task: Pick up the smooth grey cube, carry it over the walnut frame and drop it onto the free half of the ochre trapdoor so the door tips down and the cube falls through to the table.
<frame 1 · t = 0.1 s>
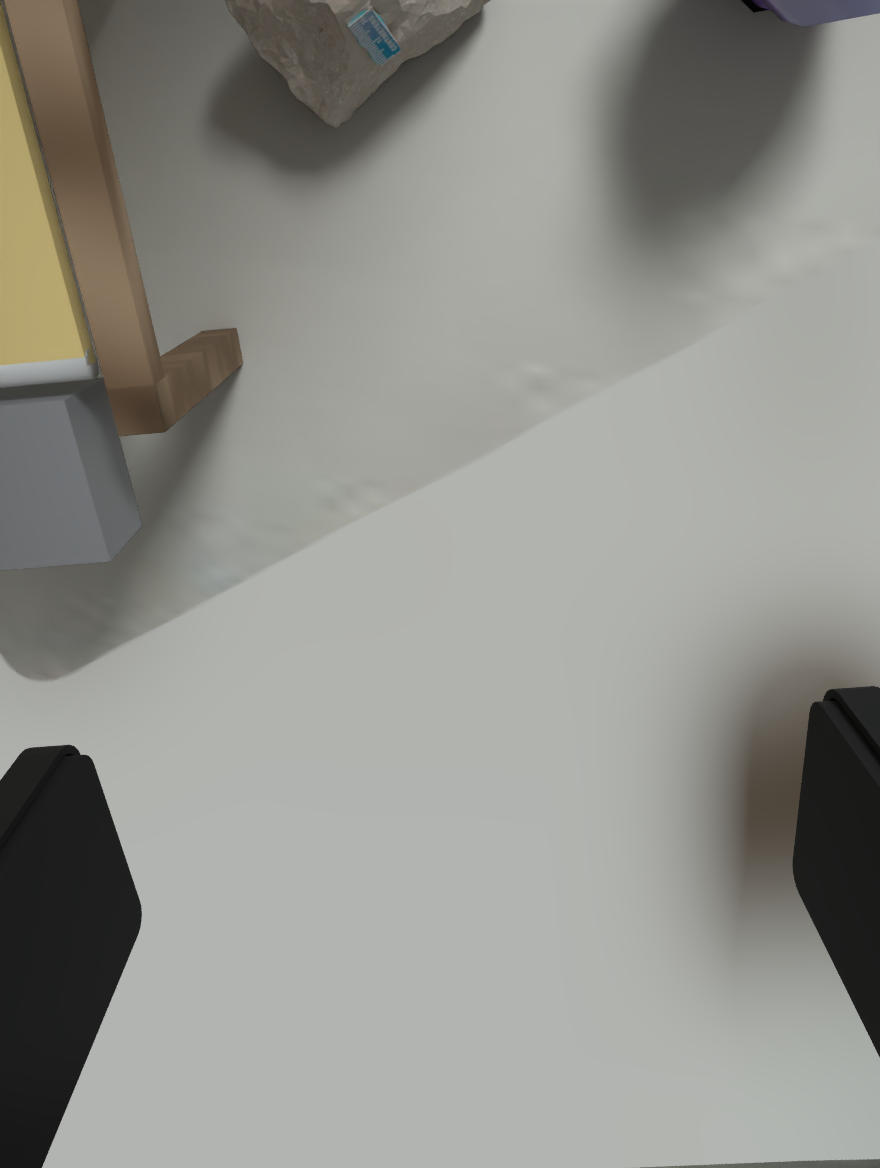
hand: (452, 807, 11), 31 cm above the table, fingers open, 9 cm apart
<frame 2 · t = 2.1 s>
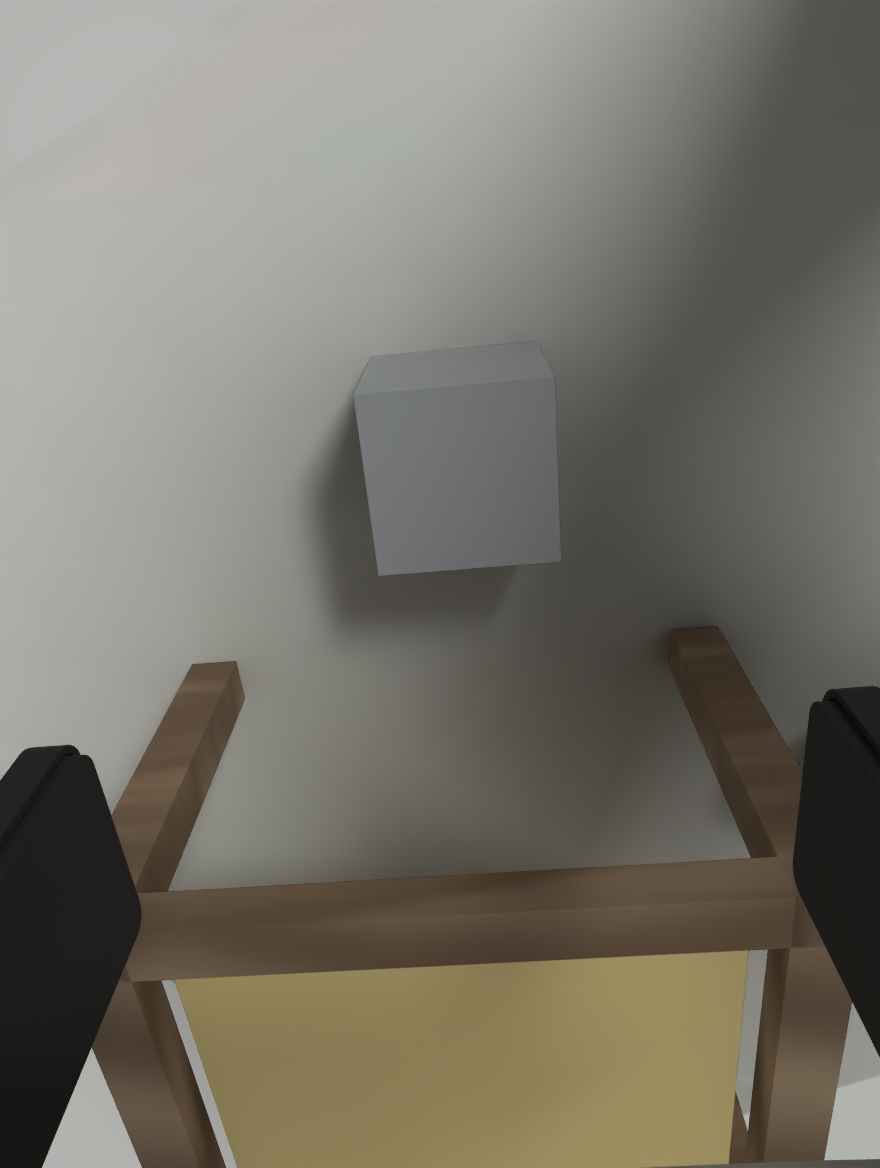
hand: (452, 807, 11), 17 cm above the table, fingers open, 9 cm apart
frame: (470, 845, 34), on the table
trapdoor: (484, 1154, 26), point 10 cm above the table, hinge at 0.0°
smooth grey cube: (460, 429, 26), on the table
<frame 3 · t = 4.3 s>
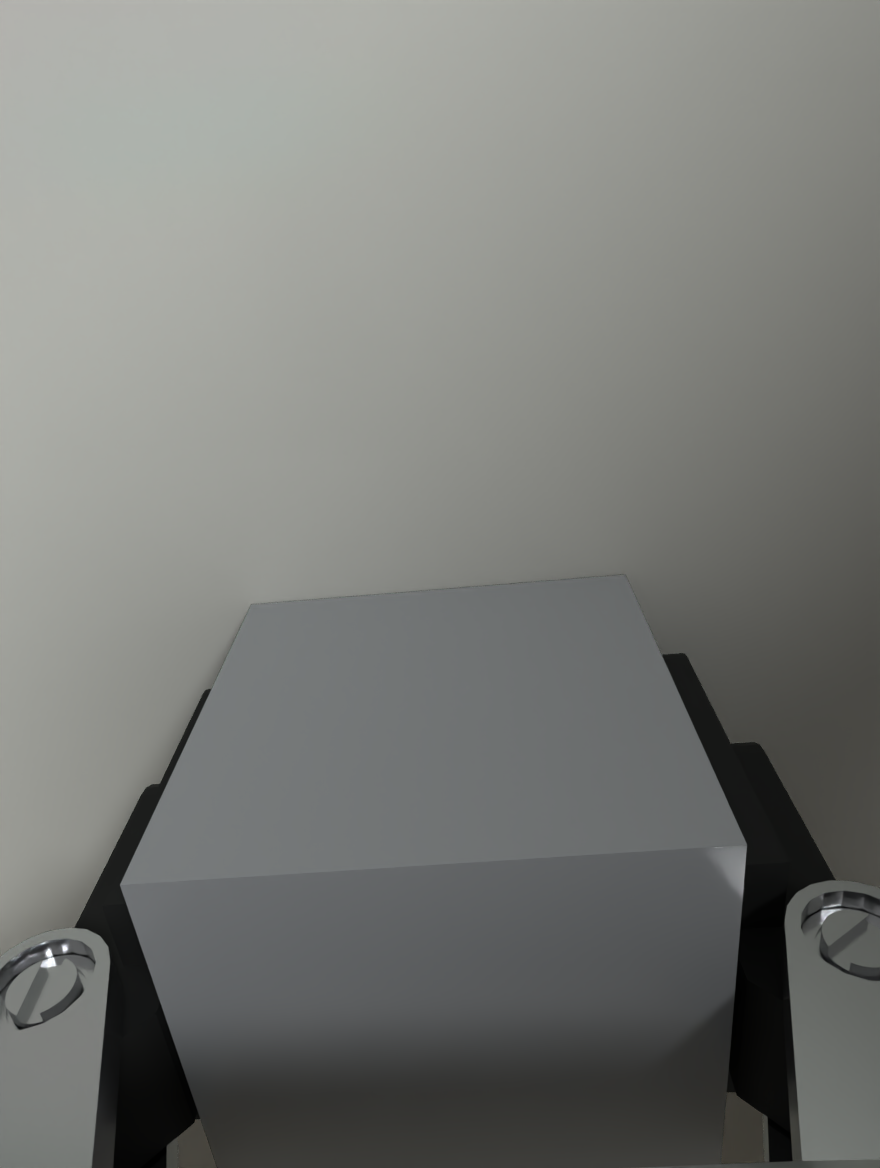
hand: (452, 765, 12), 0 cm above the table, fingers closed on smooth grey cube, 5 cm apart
smooth grey cube: (452, 743, 12), on the table, touching gripper
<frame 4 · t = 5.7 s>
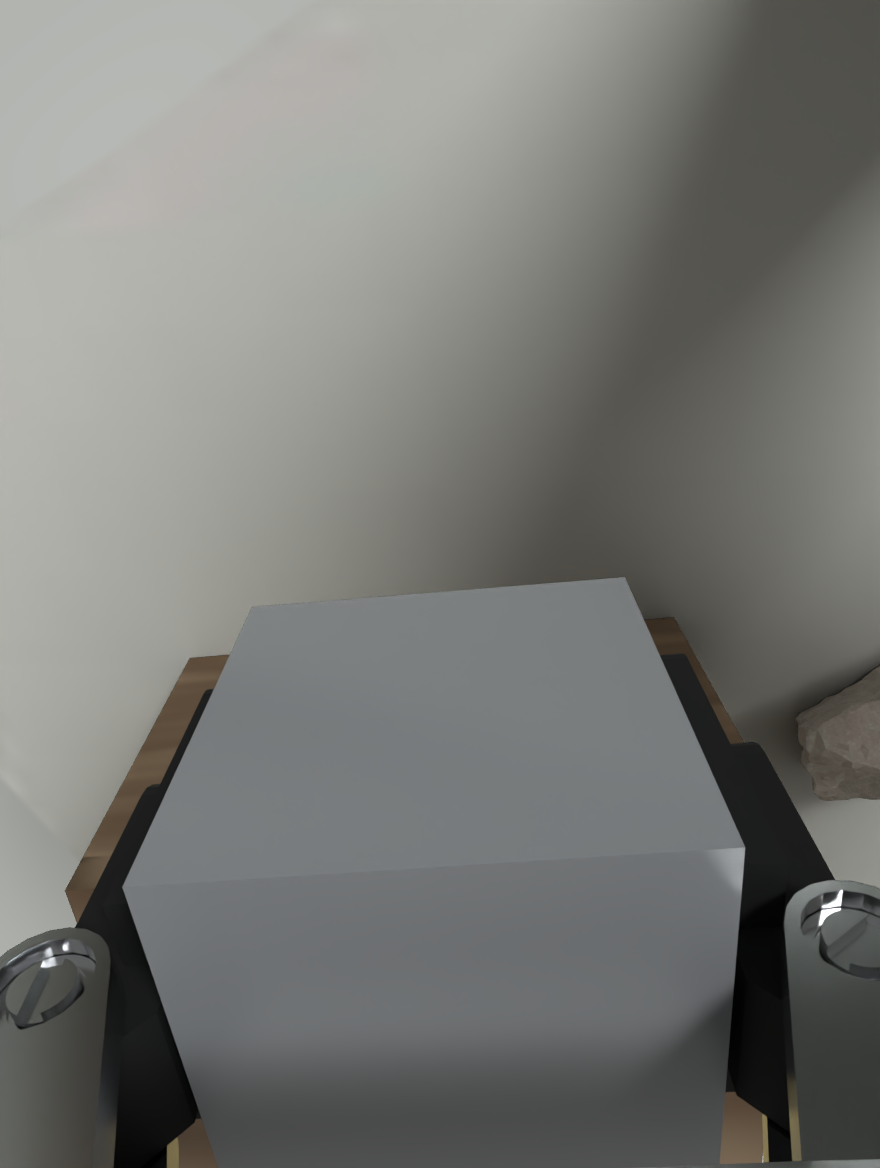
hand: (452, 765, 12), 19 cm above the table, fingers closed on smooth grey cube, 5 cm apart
frame: (450, 828, 36), on the table
smooth grey cube: (452, 745, 12), point 18 cm above the table, touching gripper
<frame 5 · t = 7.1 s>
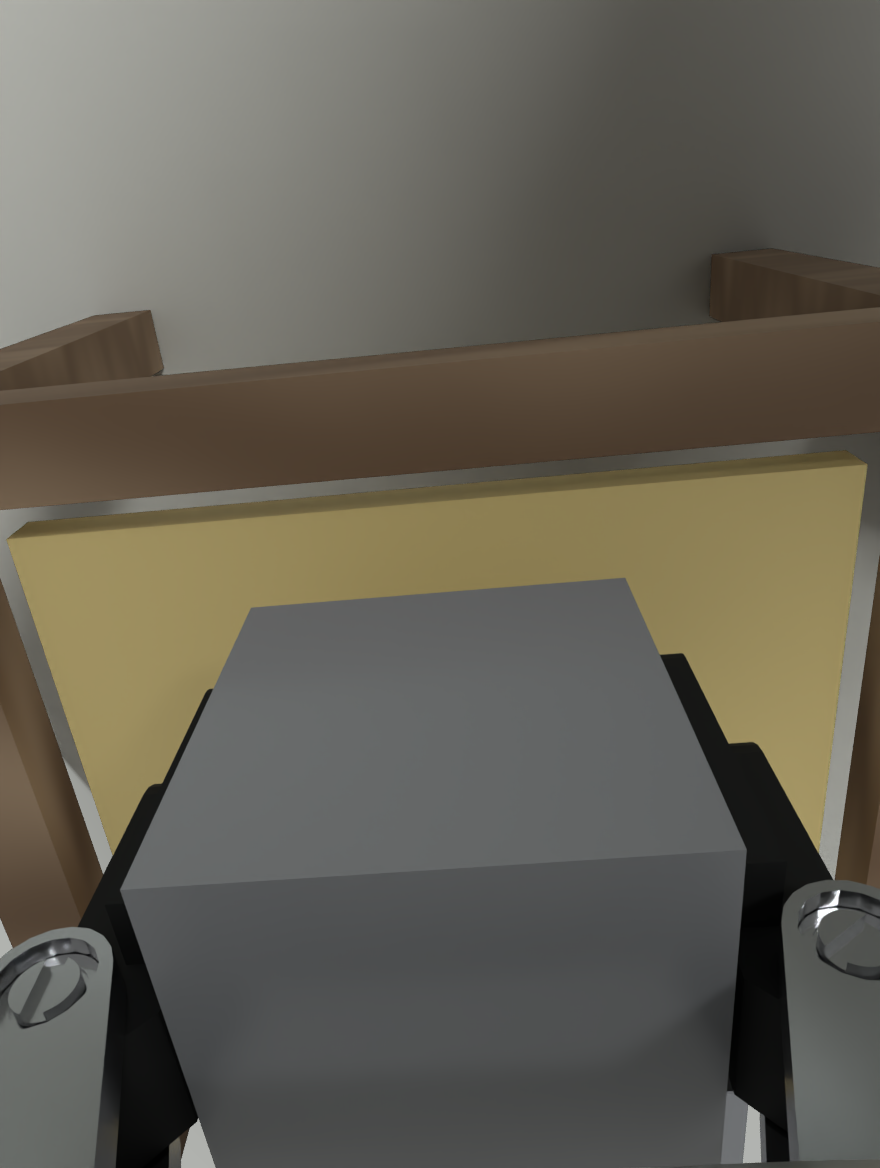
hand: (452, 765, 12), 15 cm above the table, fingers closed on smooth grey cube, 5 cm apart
frame: (455, 588, 27), on the table
trapdoor: (473, 906, 19), point 10 cm above the table, hinge at 0.0°
smooth grey cube: (452, 746, 12), point 14 cm above the table, touching gripper
when the fingers open (15 cm above the table, at t = 7.3 s): smooth grey cube drops 12 cm and tips over, point 2 cm above the table.
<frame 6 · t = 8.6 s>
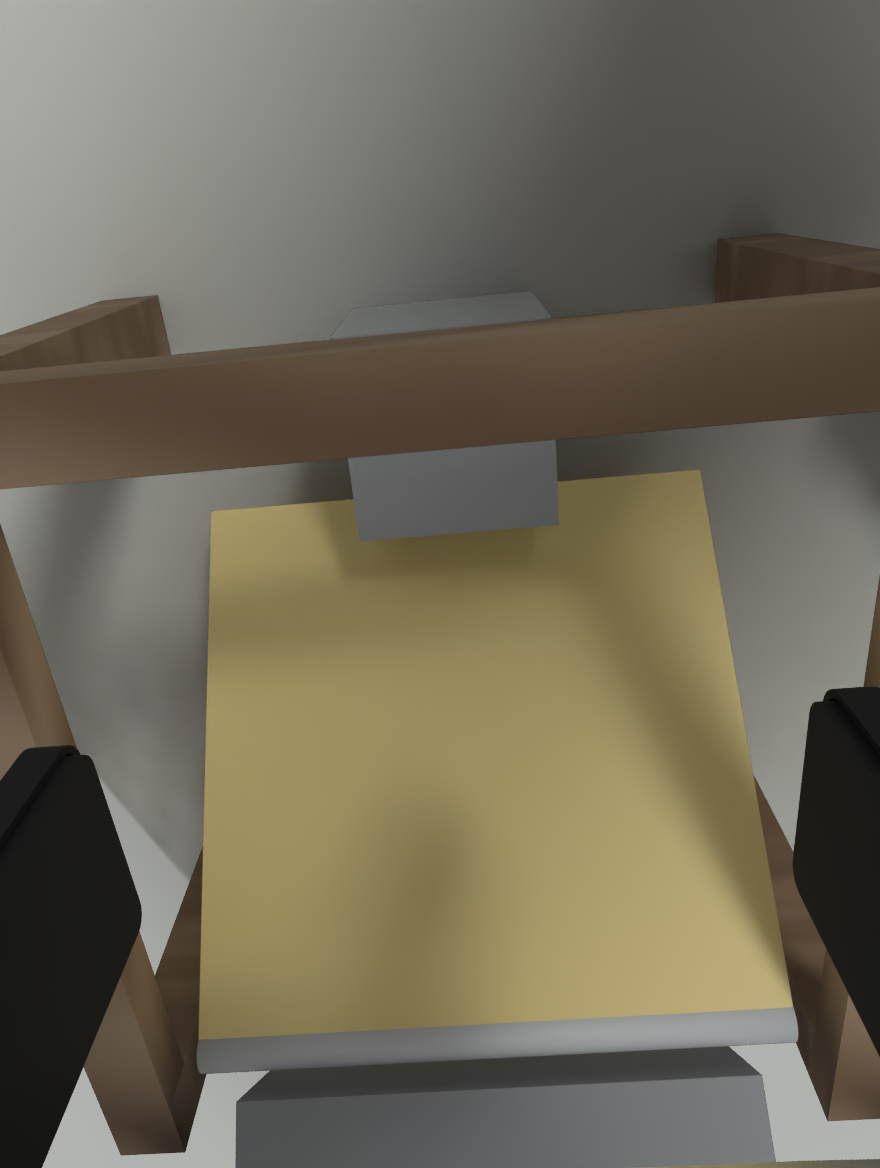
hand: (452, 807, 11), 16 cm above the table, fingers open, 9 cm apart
frame: (461, 575, 27), on the table
trapdoor: (481, 878, 22), point 8 cm above the table, hinge at -43.3°
smooth grey cube: (457, 499, 23), point 2 cm above the table, tilted 90°
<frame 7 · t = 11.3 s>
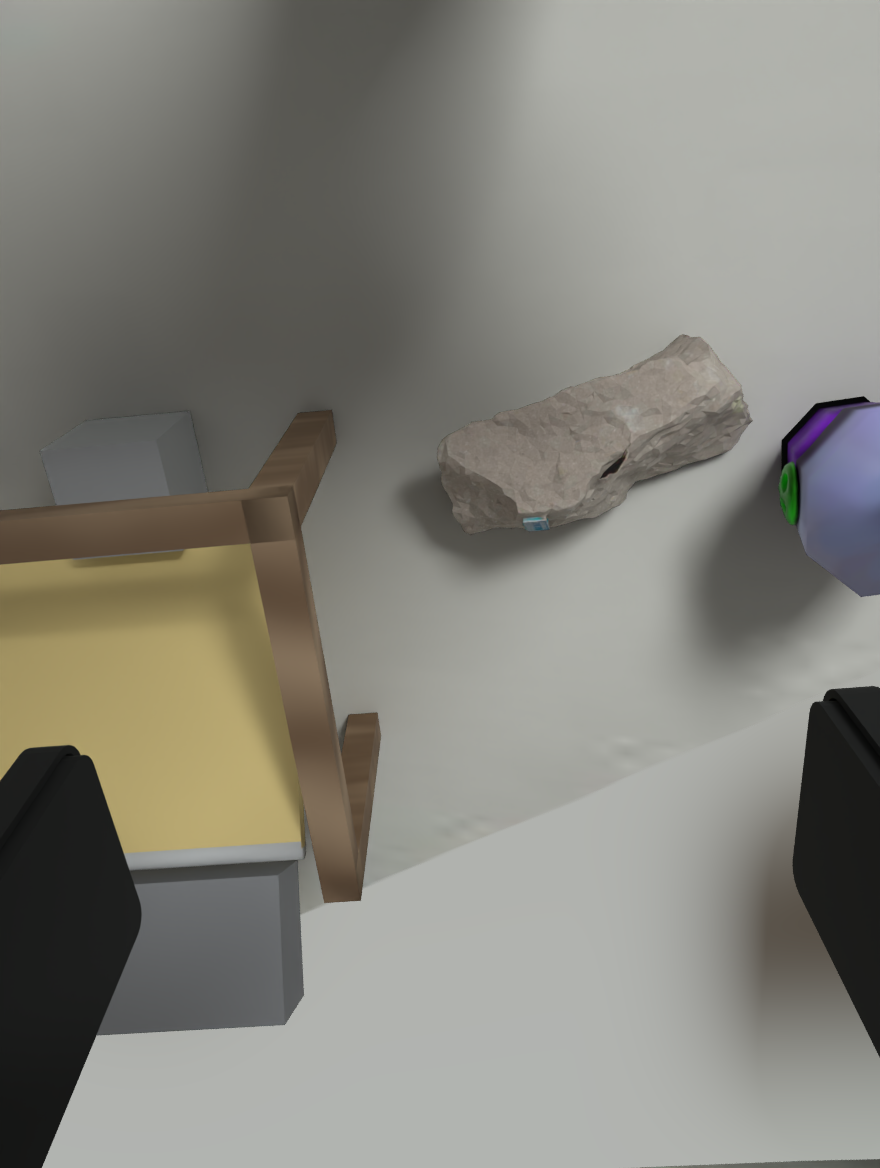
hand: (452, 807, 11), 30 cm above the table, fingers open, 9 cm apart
concrete fragment: (589, 426, 40), on the table
frame: (181, 602, 44), on the table
trapdoor: (154, 773, 39), point 8 cm above the table, hinge at -33.7°, touching smooth grey cube
smooth grey cube: (146, 533, 39), point 2 cm above the table, tilted 90°, touching trapdoor
potion bottle: (835, 452, 40), on the table
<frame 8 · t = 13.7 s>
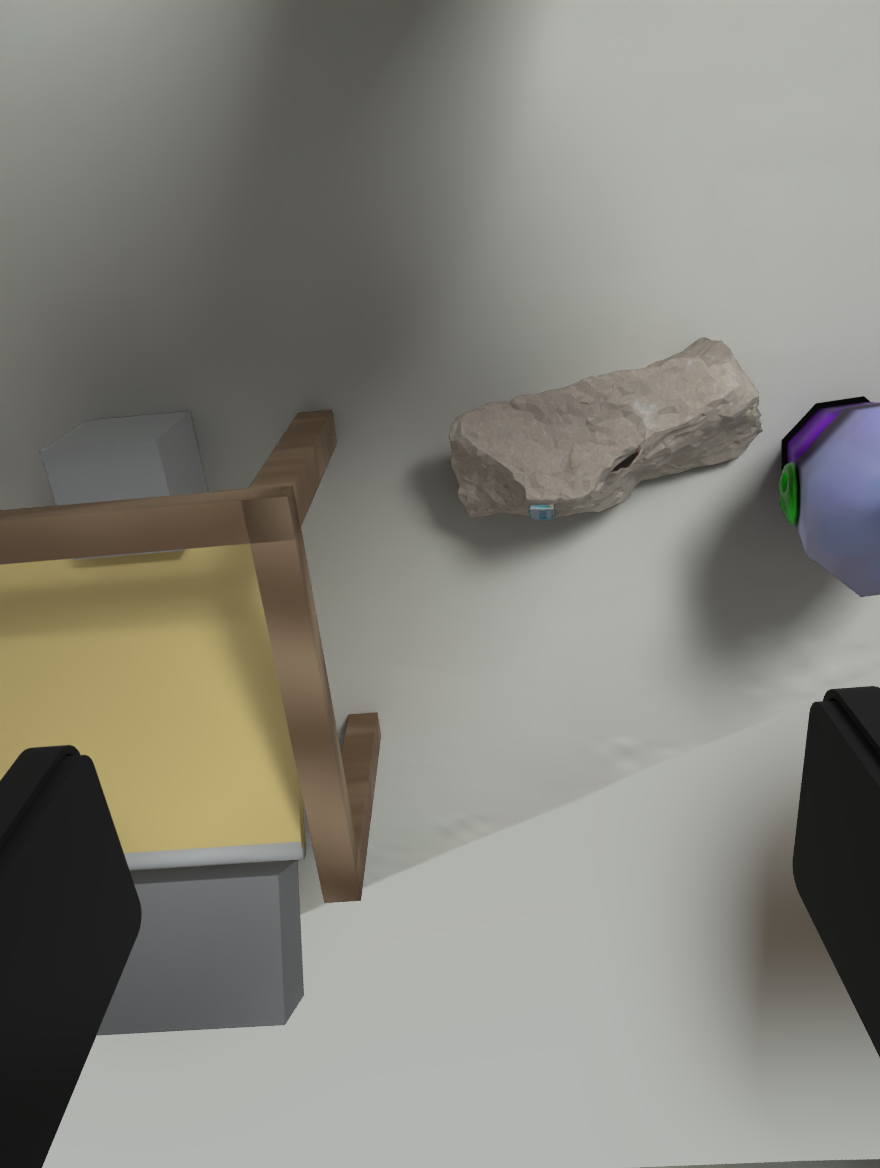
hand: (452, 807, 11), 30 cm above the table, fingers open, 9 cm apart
concrete fragment: (600, 421, 40), on the table
frame: (181, 602, 44), on the table
trapdoor: (154, 773, 39), point 8 cm above the table, hinge at -33.7°, touching smooth grey cube
smooth grey cube: (146, 533, 39), point 2 cm above the table, tilted 90°, touching trapdoor
potion bottle: (835, 452, 40), on the table
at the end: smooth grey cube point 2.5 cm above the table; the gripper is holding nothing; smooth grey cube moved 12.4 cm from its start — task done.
